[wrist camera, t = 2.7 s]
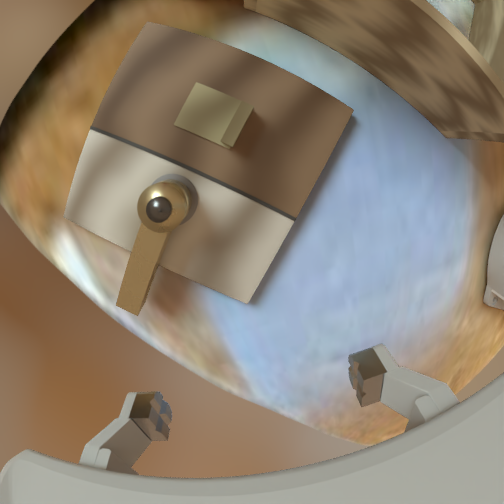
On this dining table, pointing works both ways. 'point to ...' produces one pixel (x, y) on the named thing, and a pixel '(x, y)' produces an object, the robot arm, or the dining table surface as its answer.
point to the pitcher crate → (415, 55)
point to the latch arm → (152, 239)
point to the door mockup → (205, 154)
